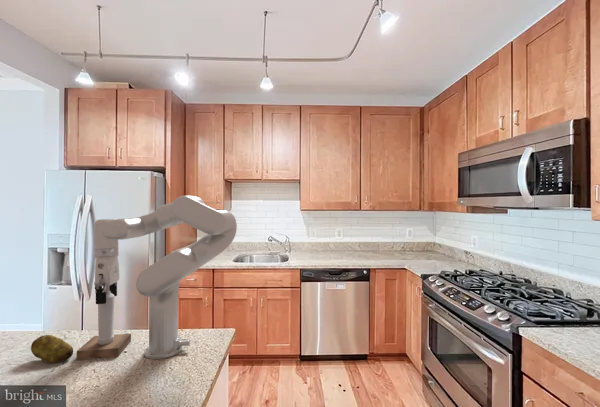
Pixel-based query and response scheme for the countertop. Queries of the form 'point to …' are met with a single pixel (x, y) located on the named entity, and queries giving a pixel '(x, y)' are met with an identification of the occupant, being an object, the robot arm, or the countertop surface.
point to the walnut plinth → (103, 347)
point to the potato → (51, 349)
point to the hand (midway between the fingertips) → (106, 299)
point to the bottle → (106, 319)
